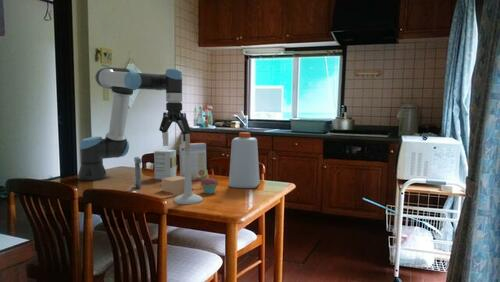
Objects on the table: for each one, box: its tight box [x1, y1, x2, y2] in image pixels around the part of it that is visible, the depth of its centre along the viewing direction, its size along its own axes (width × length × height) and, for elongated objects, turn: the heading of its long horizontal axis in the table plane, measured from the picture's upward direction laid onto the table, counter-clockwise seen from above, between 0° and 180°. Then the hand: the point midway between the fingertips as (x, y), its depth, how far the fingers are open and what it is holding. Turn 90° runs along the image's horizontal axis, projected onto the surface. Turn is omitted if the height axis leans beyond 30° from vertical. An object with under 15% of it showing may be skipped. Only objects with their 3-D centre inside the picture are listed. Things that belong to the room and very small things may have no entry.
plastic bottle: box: [228, 131, 261, 189], centre depth 195 cm, size 15×15×28 cm
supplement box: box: [153, 149, 177, 181], centre depth 208 cm, size 10×9×17 cm
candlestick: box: [173, 133, 204, 205], centre depth 163 cm, size 13×13×30 cm
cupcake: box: [200, 168, 219, 194], centre depth 180 cm, size 9×8×12 cm
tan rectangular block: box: [161, 175, 185, 197], centre depth 178 cm, size 8×12×7 cm
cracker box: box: [178, 142, 207, 182], centre depth 207 cm, size 14×6×21 cm, turn 115°
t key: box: [133, 156, 142, 190], centre depth 181 cm, size 2×10×15 cm, turn 25°
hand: (174, 147), depth 177 cm, fingers open, 13 cm apart
